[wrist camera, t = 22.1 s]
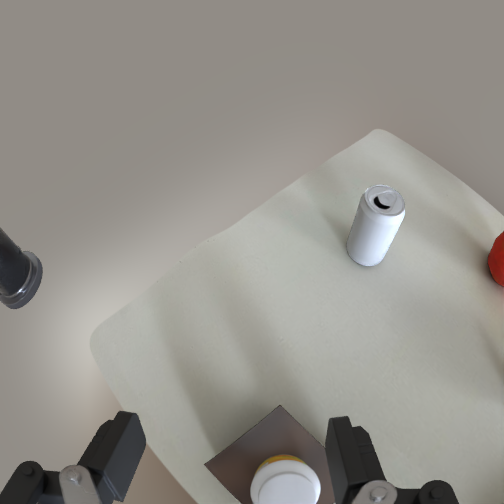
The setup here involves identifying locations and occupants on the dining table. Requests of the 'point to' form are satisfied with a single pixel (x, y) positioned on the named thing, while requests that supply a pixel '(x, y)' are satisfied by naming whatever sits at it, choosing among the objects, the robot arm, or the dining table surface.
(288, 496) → the supplement bottle
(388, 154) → the dining table surface
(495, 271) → the apple
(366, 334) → the dining table surface
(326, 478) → the shelf
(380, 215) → the beverage can
